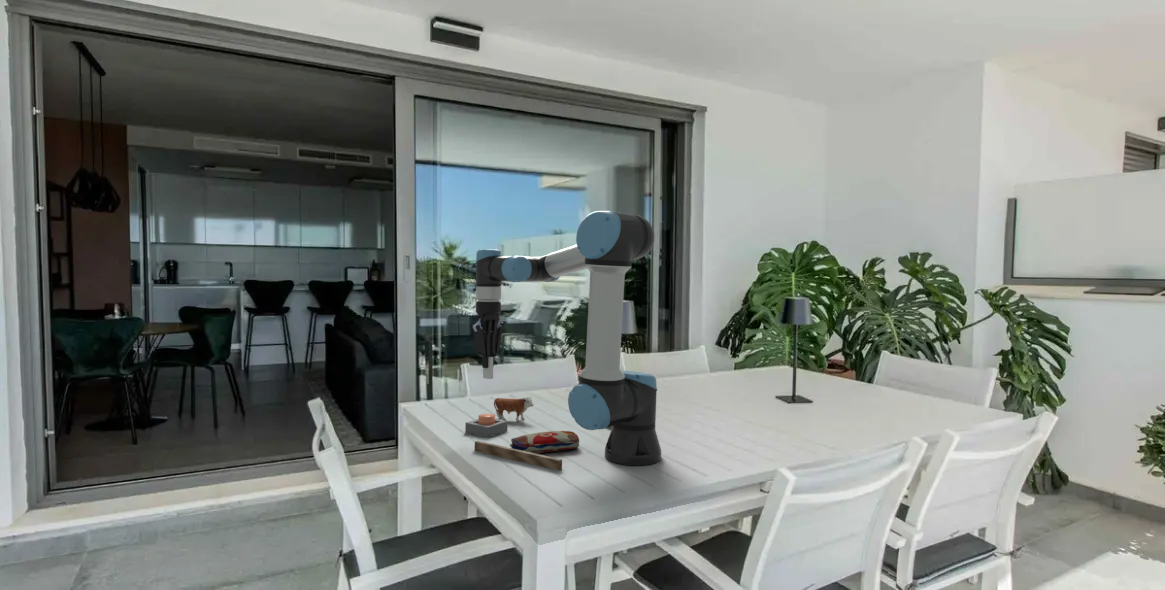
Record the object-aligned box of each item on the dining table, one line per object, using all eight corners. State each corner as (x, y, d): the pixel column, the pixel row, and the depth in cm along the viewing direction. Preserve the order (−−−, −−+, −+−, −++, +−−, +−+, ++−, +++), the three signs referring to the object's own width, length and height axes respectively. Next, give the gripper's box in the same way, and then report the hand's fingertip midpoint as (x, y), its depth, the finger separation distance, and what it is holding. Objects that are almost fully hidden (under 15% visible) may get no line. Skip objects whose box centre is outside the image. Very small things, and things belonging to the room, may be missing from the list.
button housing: (507, 430, 190) (507, 421, 189) (488, 437, 182) (488, 427, 182) (485, 426, 194) (485, 416, 194) (465, 432, 187) (465, 422, 186)
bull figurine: (532, 423, 200) (532, 398, 199) (492, 420, 202) (492, 395, 201) (535, 419, 204) (535, 395, 203) (496, 417, 206) (496, 393, 206)
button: (498, 428, 189) (498, 415, 189) (487, 431, 185) (487, 418, 184) (485, 425, 191) (485, 413, 191) (474, 429, 187) (475, 416, 187)
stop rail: (561, 469, 155) (562, 459, 155) (559, 470, 154) (559, 460, 154) (477, 449, 170) (477, 440, 170) (474, 450, 169) (474, 441, 169)
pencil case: (583, 456, 167) (583, 438, 167) (510, 459, 163) (510, 440, 163) (576, 444, 178) (576, 427, 177) (507, 446, 174) (508, 429, 174)
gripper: (492, 299, 194) (492, 374, 195) (464, 300, 183) (463, 380, 184) (511, 300, 190) (511, 376, 191) (483, 301, 179) (483, 382, 180)
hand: (488, 378), depth 187 cm, fingers closed
